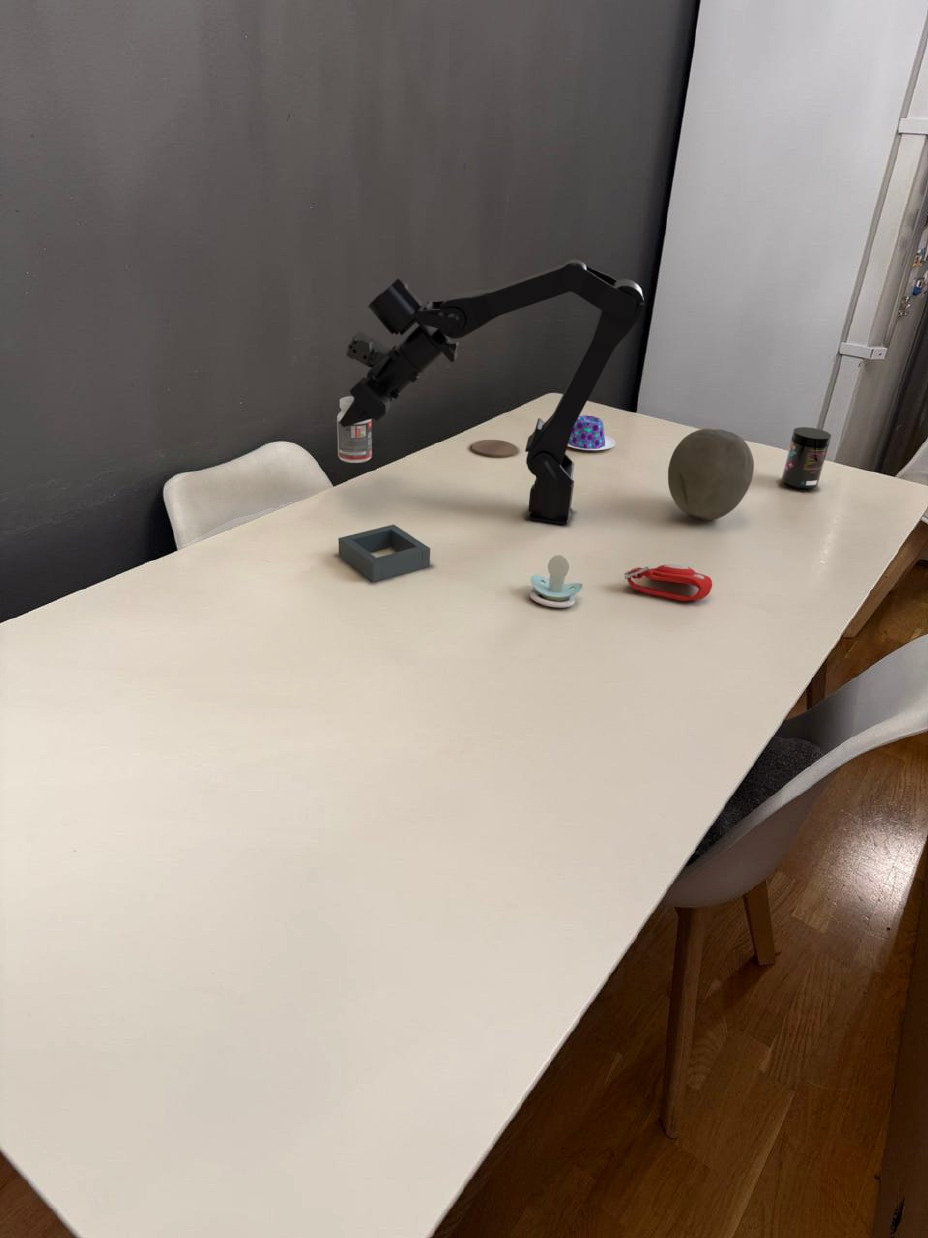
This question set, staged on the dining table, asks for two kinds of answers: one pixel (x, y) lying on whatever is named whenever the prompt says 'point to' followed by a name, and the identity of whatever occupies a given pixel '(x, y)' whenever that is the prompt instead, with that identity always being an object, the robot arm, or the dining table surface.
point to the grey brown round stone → (710, 473)
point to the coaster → (494, 448)
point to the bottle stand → (376, 569)
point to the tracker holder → (671, 580)
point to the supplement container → (805, 458)
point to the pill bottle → (353, 437)
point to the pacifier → (555, 585)
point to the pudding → (589, 434)
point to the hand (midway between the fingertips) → (346, 419)
